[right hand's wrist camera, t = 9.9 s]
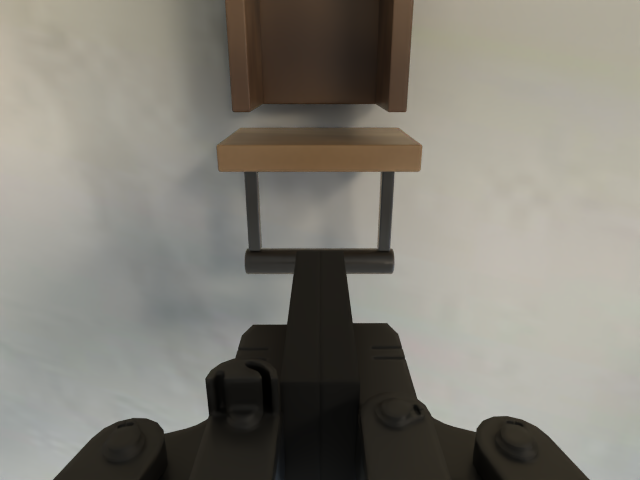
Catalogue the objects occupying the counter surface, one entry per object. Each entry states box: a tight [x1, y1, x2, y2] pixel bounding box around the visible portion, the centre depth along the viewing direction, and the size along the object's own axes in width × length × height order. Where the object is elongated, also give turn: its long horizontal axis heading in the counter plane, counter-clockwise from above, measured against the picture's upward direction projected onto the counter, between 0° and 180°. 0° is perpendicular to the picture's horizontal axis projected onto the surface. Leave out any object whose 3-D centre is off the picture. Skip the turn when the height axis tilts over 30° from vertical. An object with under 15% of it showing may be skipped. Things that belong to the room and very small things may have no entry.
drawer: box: [217, 0, 422, 274], centre depth 21 cm, size 24×9×6 cm, turn 0°
